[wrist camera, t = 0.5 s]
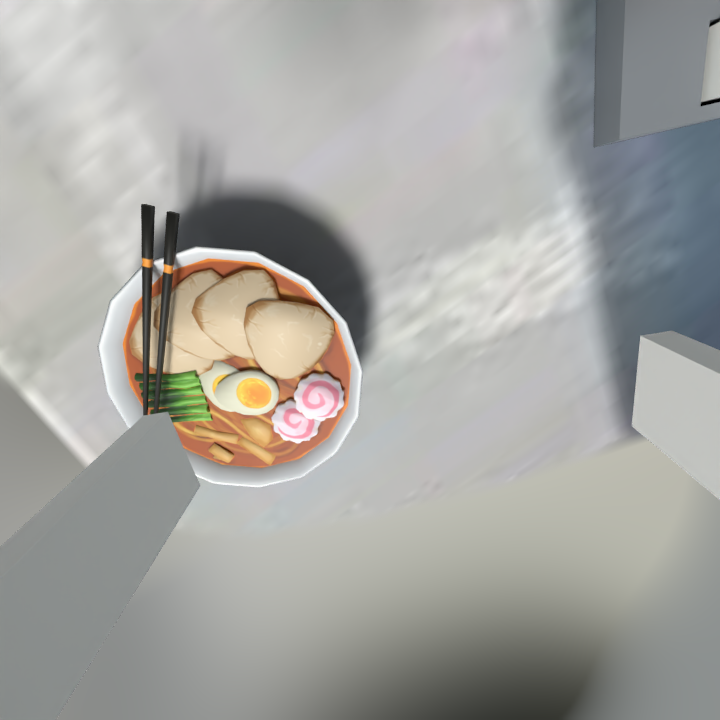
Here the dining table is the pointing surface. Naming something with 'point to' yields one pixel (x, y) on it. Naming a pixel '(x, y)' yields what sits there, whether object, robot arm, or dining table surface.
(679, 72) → the panel
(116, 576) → the robot arm
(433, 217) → the dining table surface
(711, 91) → the white button
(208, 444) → the ramen bowl
